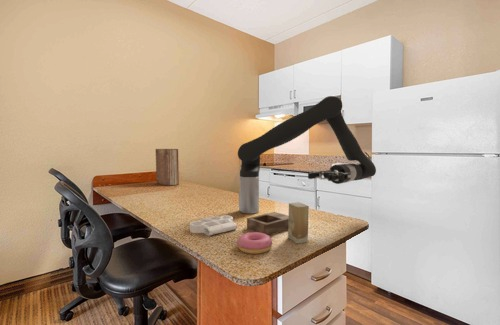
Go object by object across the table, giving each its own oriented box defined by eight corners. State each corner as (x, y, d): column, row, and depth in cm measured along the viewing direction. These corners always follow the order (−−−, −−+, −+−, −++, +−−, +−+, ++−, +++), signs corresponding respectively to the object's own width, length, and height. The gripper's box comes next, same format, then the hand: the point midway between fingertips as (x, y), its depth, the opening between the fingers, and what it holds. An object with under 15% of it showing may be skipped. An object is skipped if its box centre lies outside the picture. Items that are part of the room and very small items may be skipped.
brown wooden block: (179, 185, 213) (178, 148, 211) (168, 186, 207) (167, 149, 205) (166, 182, 232) (165, 148, 230) (156, 183, 226) (155, 148, 224)
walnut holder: (247, 228, 99) (246, 218, 98) (274, 221, 108) (274, 211, 108) (266, 236, 90) (266, 224, 90) (294, 227, 100) (294, 217, 100)
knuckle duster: (201, 240, 88) (184, 229, 100) (244, 229, 99) (224, 220, 110) (201, 230, 88) (184, 220, 99) (243, 221, 98) (224, 213, 110)
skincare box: (287, 237, 89) (287, 202, 88) (298, 236, 90) (298, 201, 90) (297, 244, 83) (297, 206, 82) (308, 242, 84) (309, 205, 84)
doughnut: (271, 242, 85) (271, 230, 85) (272, 256, 74) (272, 242, 74) (239, 241, 85) (238, 229, 85) (234, 255, 75) (234, 241, 74)
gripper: (327, 163, 108) (302, 165, 98) (359, 164, 97) (336, 167, 87) (327, 181, 108) (302, 185, 98) (359, 184, 97) (336, 189, 87)
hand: (318, 176), depth 92 cm, fingers open, 8 cm apart
